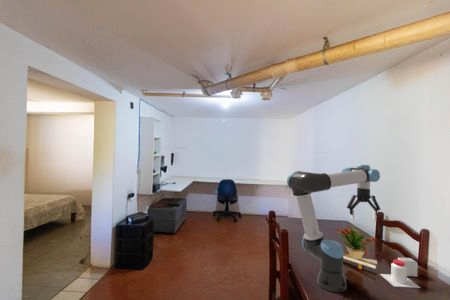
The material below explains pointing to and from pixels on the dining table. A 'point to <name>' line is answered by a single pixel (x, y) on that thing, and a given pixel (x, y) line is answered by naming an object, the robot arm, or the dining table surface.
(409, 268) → the housing
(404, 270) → the pill bottle
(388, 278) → the mat
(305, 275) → the dining table surface
